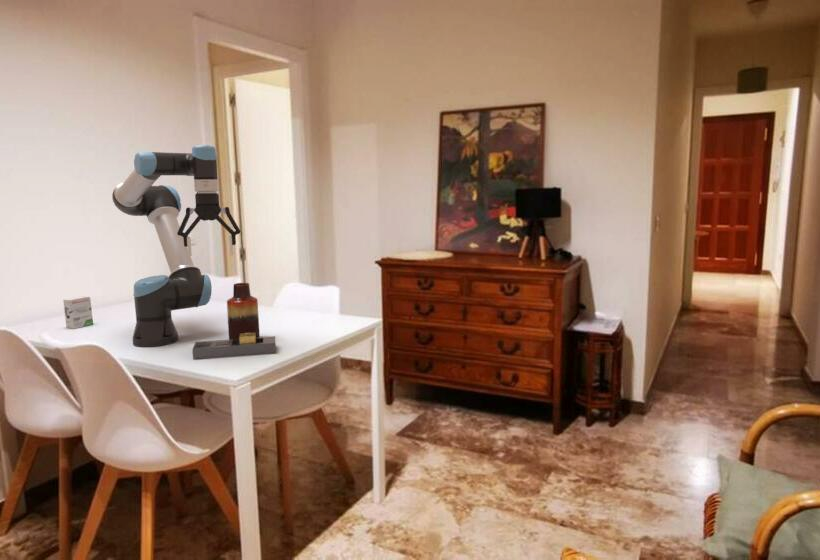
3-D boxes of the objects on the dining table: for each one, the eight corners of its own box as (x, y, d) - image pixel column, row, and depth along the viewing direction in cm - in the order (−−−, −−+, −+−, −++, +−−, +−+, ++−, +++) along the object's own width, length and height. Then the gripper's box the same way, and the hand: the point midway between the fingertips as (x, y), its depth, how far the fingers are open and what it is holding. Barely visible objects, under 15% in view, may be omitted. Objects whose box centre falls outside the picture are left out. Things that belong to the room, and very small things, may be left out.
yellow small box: (240, 354, 190) (239, 335, 189) (241, 350, 195) (239, 331, 194) (256, 353, 191) (254, 334, 190) (256, 349, 196) (255, 330, 195)
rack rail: (193, 359, 185) (192, 348, 184) (196, 351, 194) (195, 341, 193) (275, 353, 191) (275, 342, 190) (275, 346, 200) (275, 336, 199)
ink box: (87, 323, 238) (84, 295, 236) (93, 324, 236) (91, 296, 234) (65, 327, 231) (62, 298, 229) (72, 329, 228) (69, 300, 227)
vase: (223, 339, 210) (220, 284, 207) (250, 333, 218) (247, 280, 214) (238, 344, 202) (234, 287, 199) (265, 338, 210) (262, 283, 207)
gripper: (165, 193, 187) (170, 258, 190) (244, 192, 192) (248, 255, 196) (169, 193, 194) (173, 255, 197) (245, 192, 199) (249, 253, 203)
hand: (211, 255), depth 196 cm, fingers open, 13 cm apart
